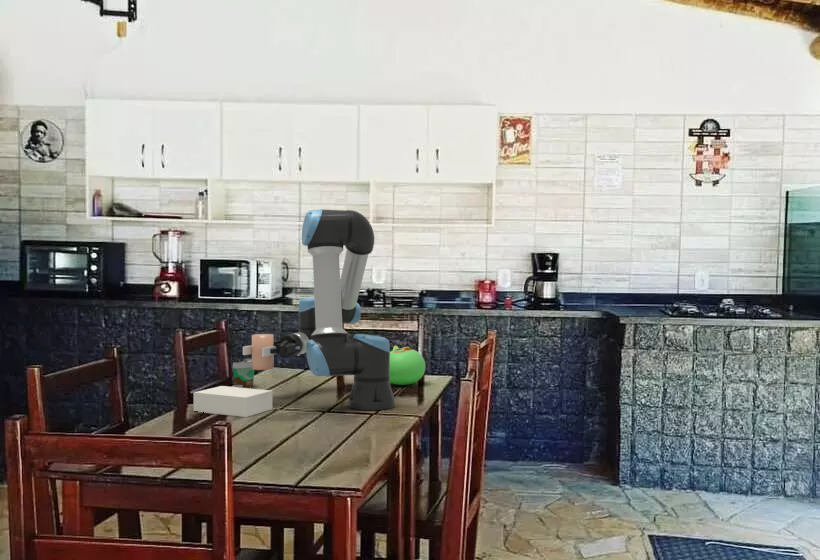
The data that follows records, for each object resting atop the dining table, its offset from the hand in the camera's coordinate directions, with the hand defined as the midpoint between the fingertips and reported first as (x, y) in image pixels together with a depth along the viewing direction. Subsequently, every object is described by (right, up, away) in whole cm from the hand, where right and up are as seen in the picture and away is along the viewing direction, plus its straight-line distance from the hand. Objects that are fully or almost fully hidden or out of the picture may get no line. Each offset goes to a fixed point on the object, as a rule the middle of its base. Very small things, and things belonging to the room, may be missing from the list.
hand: (253, 351), depth 267 cm
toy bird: (+47, -17, +47) cm, 69 cm away
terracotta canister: (+2, -6, +5) cm, 8 cm away
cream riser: (-5, -18, -5) cm, 20 cm away
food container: (-10, -17, +38) cm, 43 cm away
